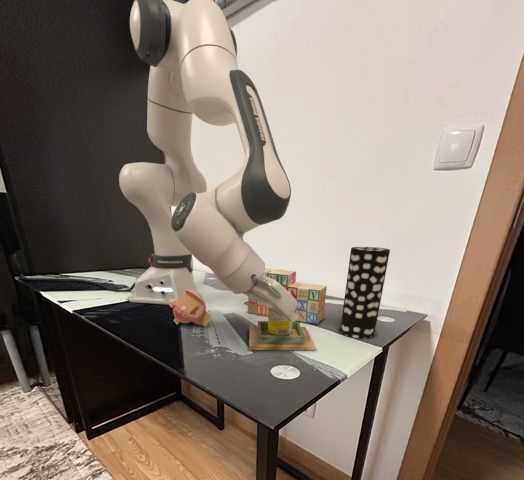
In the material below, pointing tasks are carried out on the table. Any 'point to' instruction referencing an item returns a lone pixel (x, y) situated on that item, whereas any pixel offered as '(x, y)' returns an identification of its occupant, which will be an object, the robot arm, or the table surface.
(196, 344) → the table surface
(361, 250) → the spotted tube
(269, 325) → the supplement bottle
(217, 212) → the robot arm
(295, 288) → the stack of blocks
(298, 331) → the wooden board green frame
